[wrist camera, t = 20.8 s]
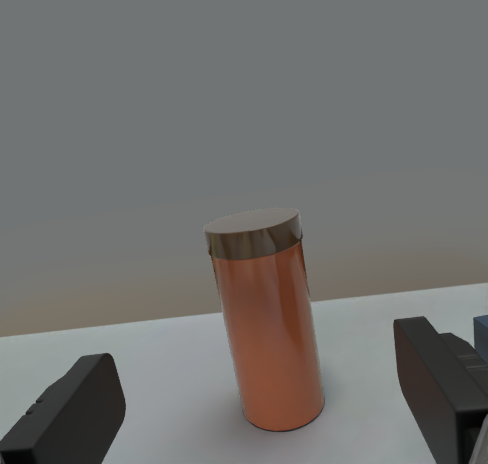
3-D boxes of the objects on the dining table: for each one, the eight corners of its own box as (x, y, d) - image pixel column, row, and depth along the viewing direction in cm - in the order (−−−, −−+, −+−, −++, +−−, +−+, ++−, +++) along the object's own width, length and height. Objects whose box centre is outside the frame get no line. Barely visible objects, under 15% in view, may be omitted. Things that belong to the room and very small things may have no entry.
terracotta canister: (236, 436, 21) (194, 239, 19) (244, 378, 26) (211, 216, 24) (332, 428, 21) (302, 222, 18) (321, 370, 26) (296, 202, 23)
